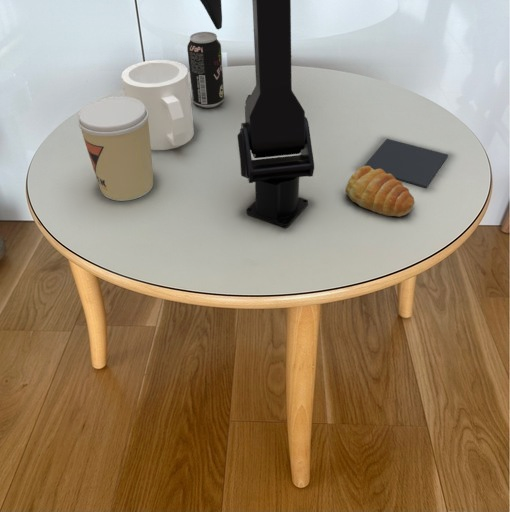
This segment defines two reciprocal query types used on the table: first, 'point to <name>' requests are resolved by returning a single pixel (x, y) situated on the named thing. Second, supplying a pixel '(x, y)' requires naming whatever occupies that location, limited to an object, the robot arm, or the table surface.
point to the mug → (162, 100)
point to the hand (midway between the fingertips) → (241, 33)
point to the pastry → (379, 192)
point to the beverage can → (205, 69)
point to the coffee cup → (118, 146)
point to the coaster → (407, 162)
